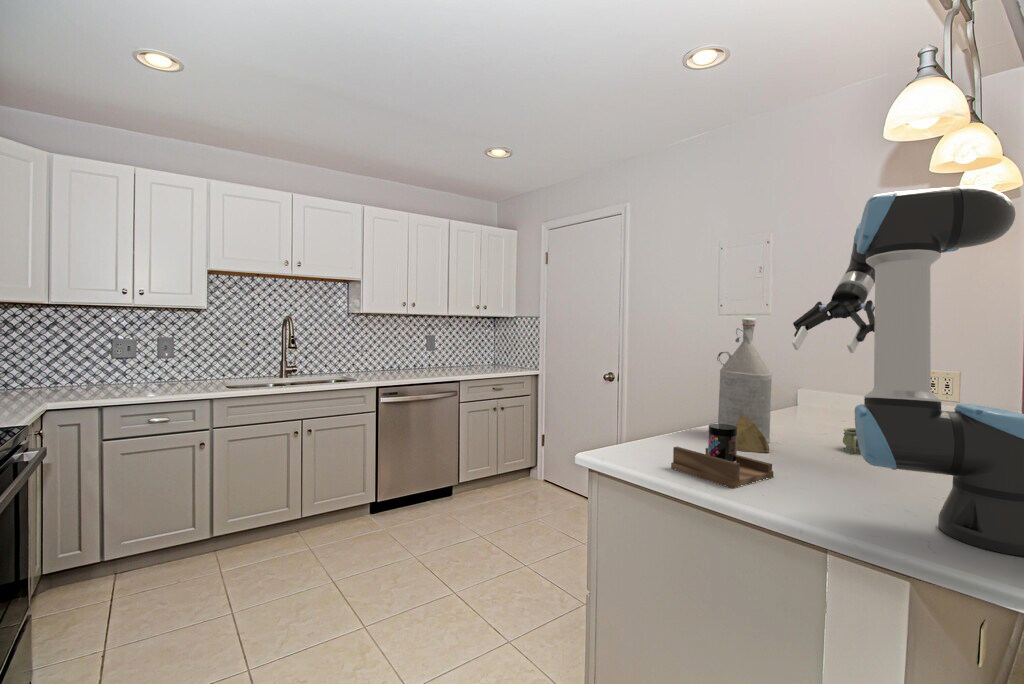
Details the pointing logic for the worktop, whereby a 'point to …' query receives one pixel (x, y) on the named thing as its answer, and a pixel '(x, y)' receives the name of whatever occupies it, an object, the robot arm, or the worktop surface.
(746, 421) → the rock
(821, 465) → the worktop surface
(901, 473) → the worktop surface
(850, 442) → the vessel
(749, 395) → the grey jug
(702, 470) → the walnut rack
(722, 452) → the supplement container
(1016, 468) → the robot arm
